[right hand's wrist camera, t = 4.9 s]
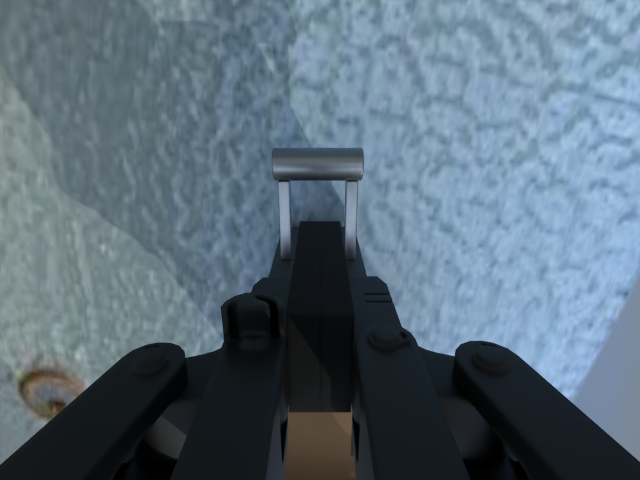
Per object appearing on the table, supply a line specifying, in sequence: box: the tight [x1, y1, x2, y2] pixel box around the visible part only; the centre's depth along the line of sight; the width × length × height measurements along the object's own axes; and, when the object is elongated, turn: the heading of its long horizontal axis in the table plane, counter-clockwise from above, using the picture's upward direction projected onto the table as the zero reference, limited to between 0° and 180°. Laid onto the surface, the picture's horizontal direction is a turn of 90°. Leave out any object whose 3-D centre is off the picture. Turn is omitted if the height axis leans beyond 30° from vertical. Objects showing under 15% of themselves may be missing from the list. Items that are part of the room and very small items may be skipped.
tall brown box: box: [284, 405, 356, 480], centre depth 25 cm, size 16×6×11 cm, turn 0°
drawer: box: [269, 148, 367, 278], centre depth 23 cm, size 21×5×10 cm, turn 0°
